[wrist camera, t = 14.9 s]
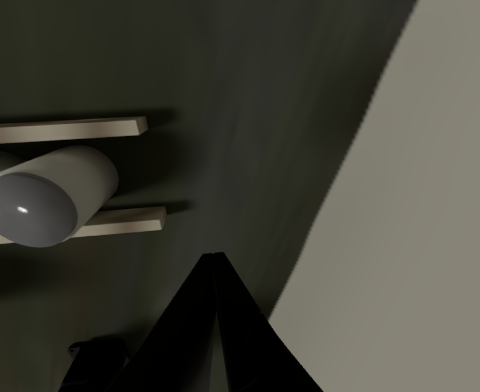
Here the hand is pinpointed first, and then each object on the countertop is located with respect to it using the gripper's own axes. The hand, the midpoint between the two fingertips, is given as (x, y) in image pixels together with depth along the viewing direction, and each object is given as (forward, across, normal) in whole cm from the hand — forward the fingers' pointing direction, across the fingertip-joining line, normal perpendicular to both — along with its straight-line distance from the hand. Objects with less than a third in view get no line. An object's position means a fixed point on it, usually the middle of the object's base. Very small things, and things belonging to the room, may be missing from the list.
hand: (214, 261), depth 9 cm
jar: (+12, +11, 0) cm, 16 cm away
